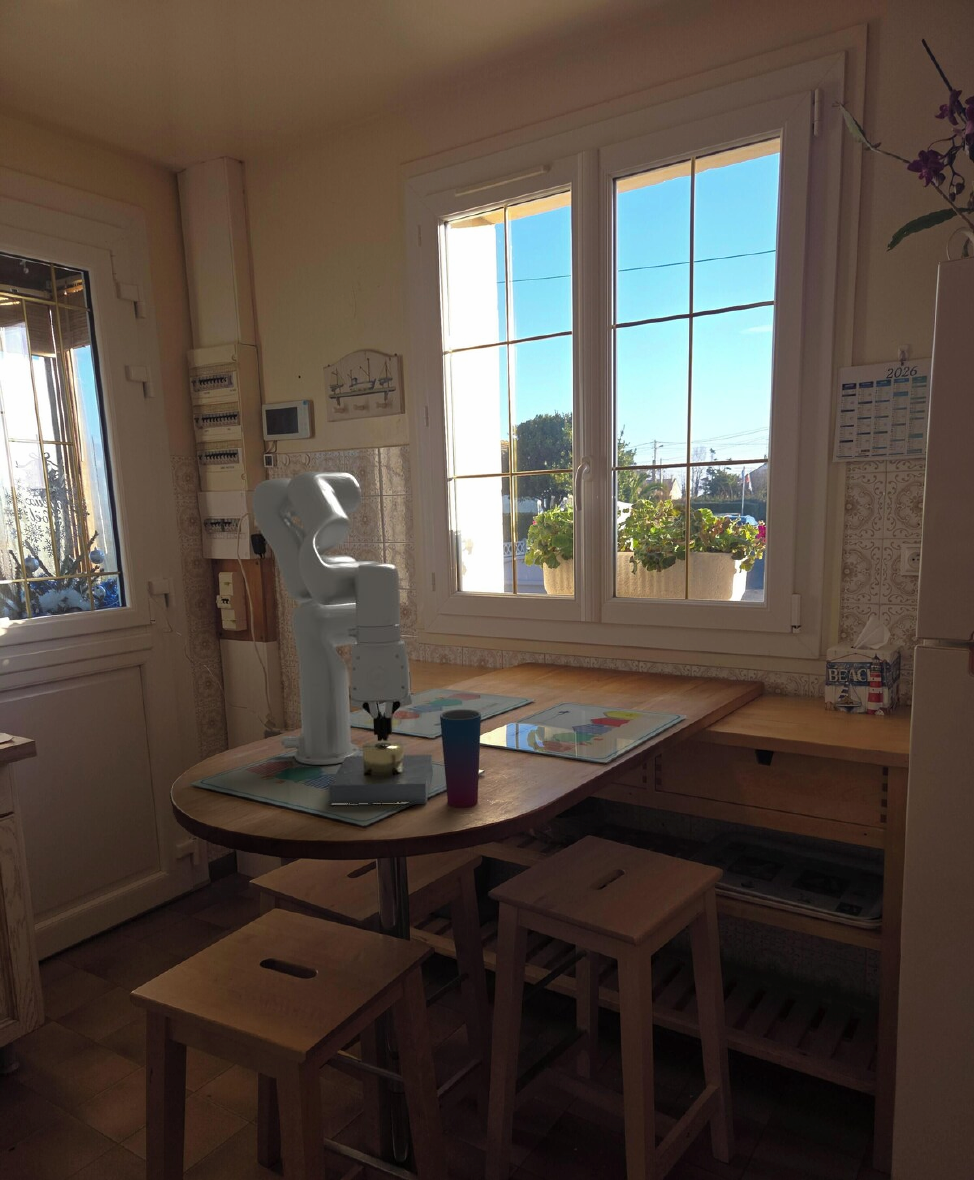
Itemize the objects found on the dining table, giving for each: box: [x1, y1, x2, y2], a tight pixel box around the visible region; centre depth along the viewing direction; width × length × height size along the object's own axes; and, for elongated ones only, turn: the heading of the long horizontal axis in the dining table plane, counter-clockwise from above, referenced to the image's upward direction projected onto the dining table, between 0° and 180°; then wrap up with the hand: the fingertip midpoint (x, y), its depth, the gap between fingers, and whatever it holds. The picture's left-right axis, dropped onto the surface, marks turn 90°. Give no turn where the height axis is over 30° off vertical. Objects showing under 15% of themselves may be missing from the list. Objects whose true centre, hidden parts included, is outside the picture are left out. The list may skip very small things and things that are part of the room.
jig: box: [328, 754, 434, 805], centre depth 143 cm, size 16×16×4 cm
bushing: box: [362, 739, 404, 776], centre depth 142 cm, size 7×7×8 cm
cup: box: [439, 708, 482, 809], centre depth 134 cm, size 7×7×15 cm
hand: (383, 738), depth 142 cm, fingers closed
